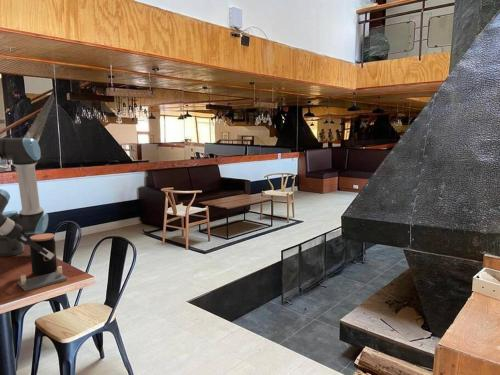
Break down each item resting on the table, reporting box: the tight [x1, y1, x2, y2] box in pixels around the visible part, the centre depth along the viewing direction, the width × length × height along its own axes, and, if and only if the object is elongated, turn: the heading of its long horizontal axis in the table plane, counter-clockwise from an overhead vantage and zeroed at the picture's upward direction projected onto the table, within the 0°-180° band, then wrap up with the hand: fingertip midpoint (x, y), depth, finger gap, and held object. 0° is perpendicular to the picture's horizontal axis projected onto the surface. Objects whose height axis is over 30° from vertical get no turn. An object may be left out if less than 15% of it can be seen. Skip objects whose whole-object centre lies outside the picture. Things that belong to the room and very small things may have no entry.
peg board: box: [17, 265, 68, 292], centre depth 165 cm, size 17×11×5 cm, turn 137°
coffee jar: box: [29, 232, 58, 276], centre depth 176 cm, size 11×11×18 cm
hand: (47, 253), depth 177 cm, fingers open, 13 cm apart
